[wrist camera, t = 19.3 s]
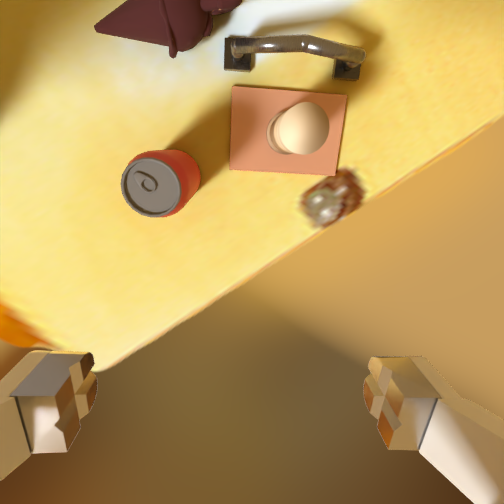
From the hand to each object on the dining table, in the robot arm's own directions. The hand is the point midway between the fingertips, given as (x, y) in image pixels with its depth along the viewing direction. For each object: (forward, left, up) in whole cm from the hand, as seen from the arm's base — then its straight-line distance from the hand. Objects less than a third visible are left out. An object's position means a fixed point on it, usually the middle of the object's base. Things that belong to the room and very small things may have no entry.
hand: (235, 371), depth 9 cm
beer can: (-8, +2, -33) cm, 34 cm away
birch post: (+6, +8, -32) cm, 34 cm away
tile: (+6, +8, -33) cm, 35 cm away
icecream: (-8, +18, -33) cm, 39 cm away
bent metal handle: (+6, +16, -33) cm, 37 cm away
